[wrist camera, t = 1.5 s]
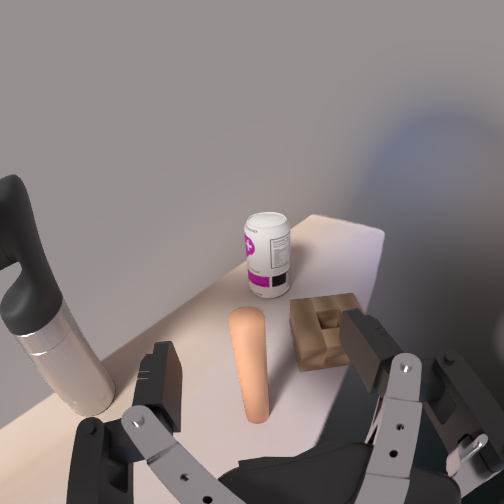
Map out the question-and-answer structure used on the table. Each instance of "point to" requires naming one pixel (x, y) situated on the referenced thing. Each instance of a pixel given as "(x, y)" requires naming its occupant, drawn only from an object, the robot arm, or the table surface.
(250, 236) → the supplement can
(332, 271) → the table surface
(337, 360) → the socket block
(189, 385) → the table surface
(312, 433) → the table surface
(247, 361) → the peg
